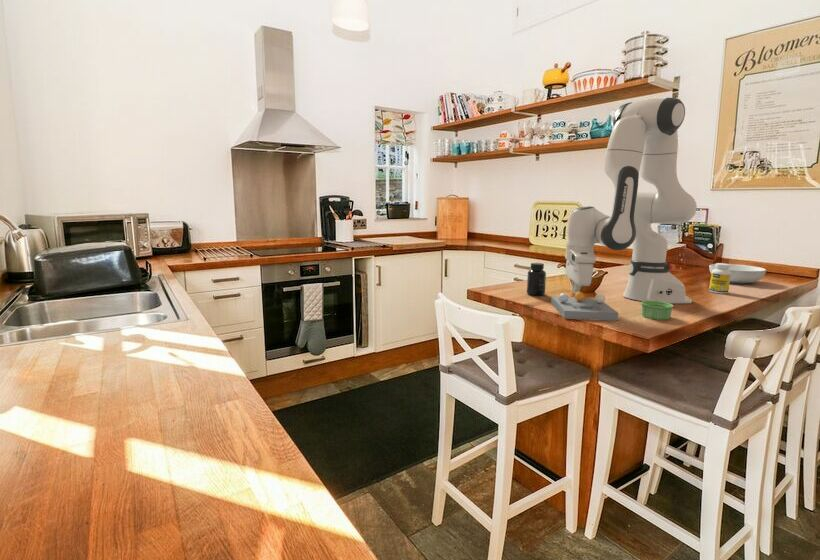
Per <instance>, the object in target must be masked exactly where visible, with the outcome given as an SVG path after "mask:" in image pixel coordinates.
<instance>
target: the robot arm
mask: <svg viewBox="0 0 820 560" xmlns="http://www.w3.org/2000/svg"><path fill="white" fill-rule="evenodd" d="M685 116H686V107H685V104H684V102H683V101H682V100H681V99H679V98H677V97H666V98H647V99H646V100H645V99H644V100H638V101H635V102H633V101H632V102H627V103H624V104H621V105H619V107H617V110H616V111H615V112H614V114H613V118H612V125H613V128H612V130H611V134H610V136H609V139H608V142H607V147H606V151H605V156H604V172H605V174H606V175H607V177H608V178H609V179H610V180H611V182H612V183H613V186H614V196H613V203H612V210H611V215H607V214H604V213H603V212H601V211H599V210H598V209H596V207H595V206H589V205H588V206H581V207H576V208H574V209H572V210H571V212H570V214H569V218H568V224H567V231H566V234H567V242H566V244H565V258H564V259H566V262H565V263H566V264H565V271H564V272H565V273H564V274H565V276H566V277H567V278H568V279H570V281H571V286H572V287H571V288H572V289H571V291H572V293H573V294H574V295H575V294H576V293H577V292H581V288H582V287H590V286H591V284H592V279H593V272H594V264H596V260H597V258H596V255H595V252H594V249H595V247H594V245H595V244H600V245H601V246H605V247H607V248H608V249H610V250H613V251H622V250H623V251H624V250H626V249H628V248H629V247H630V246H631V245H632V256H631V259H630V262H629V266H628V267H629V269H628V272H629V273H628V274H629V275H628V281H627V284H626V287H625V290H624V292H623V295H622V296H623V297H625V298H626V299H628V300H629V299H630V300H633V301H639V302H642V301H661V302H666V303H670V304H692V301H693V300H692V298H690V297H688V296H686V287H685V284H684V283H683V282H682V281H680V280H679V279H678V278H677V277H676V276H675V275H673V274H672V273H671V272H670V270H672V271H674V270H675V269H677V266H675V264H673V263H669V262H667V261H666V260H667V252H668V251H667V250H668V240H667V239H666V238H665V237H664V236H663V235H662V234H660V233H658V232H656V231H655V230H653V228H652V224H663V225H677V224H684V223H689V222H690V221H691V220H692V219H693V218H694V217H695V215H696V213H697V208H698V207H697V206H698V205H697V202H696V199H695V198H694V197H693V196H692V195H691V194H689V193H688V192H687V191H686V190H685V189H684V188H683V186H682V185H681V184H680V181H679V179H678V175H677V170H678V169H677V166H678V165H677V162H678V161H677V160H678V152H679V151H678V150H679V147H678V146H679V135H678V130H679V128H680V127H681V125H682V124H683V122H684V120H685ZM640 177H641V178H642V180H644V181H645V182H647V183H649V184H651V185H653V186H655V188H656V190H657V192H638V190H639V189H638V188H639V179H640Z"/></svg>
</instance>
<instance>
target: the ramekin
mask: <svg viewBox="0 0 820 560" xmlns="http://www.w3.org/2000/svg"><path fill="white" fill-rule="evenodd" d="M640 303H641V315H642V317H644V318H646V317H647V318H646V319H650V318H651V319H650V320H655V319H657V320H656V321H667V319H668V320H669V319H670V318H671V317H672V316H671V315H672V310H673V309H674V304H673V303H666V302H661V301H640Z"/></svg>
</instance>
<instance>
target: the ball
mask: <svg viewBox="0 0 820 560" xmlns="http://www.w3.org/2000/svg"><path fill="white" fill-rule="evenodd" d="M574 297H575V299H576V300H577V301H583V300H584V298H586V295H585V293H583V292H582V291H580V292H577V293H576V294H574Z"/></svg>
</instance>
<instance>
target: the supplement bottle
mask: <svg viewBox="0 0 820 560" xmlns="http://www.w3.org/2000/svg"><path fill="white" fill-rule="evenodd" d="M544 267H545V265H544V263H542V262H531V263H530V267H529V268H530V270H528V272H527V279H526V281H527V282H526V293H527V295H528V294H529V296H533V295H534V296H536V297H541V296H545V294H546V282H547V280H546V279H547V272H546V270H544ZM534 296H533V297H534Z"/></svg>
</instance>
